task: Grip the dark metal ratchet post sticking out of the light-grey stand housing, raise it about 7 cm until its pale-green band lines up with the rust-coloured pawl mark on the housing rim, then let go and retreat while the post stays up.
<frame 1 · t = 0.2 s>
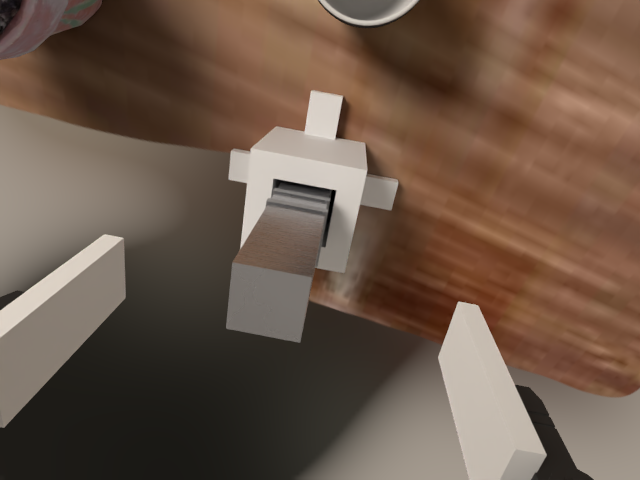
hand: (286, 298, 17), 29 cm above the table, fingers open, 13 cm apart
housing: (313, 178, 44), on the table
post: (297, 220, 33), point 12 cm above the table, slide at 0.0 cm
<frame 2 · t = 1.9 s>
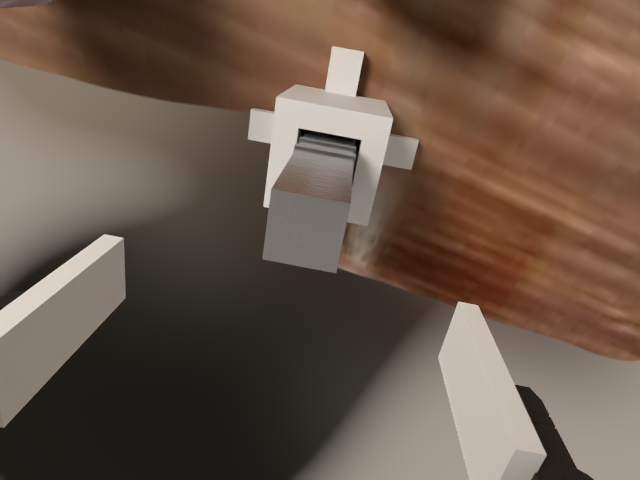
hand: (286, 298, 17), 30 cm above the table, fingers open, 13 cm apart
housing: (332, 137, 44), on the table
post: (323, 170, 33), point 12 cm above the table, slide at 0.0 cm
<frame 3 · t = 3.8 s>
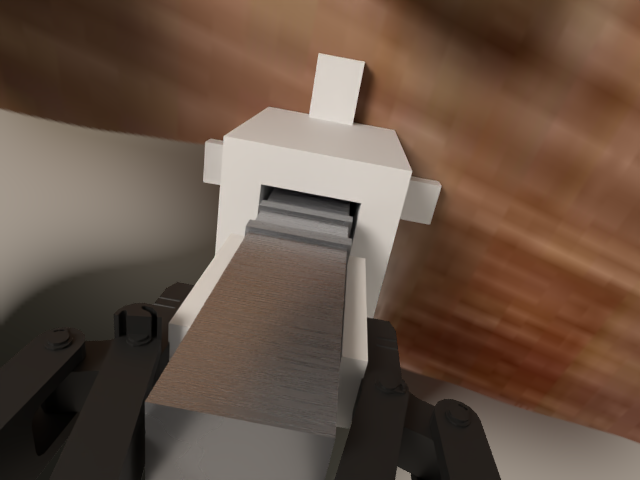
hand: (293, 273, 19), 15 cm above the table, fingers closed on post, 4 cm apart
housing: (321, 179, 32), on the table
post: (299, 252, 21), point 12 cm above the table, slide at 0.0 cm, touching gripper
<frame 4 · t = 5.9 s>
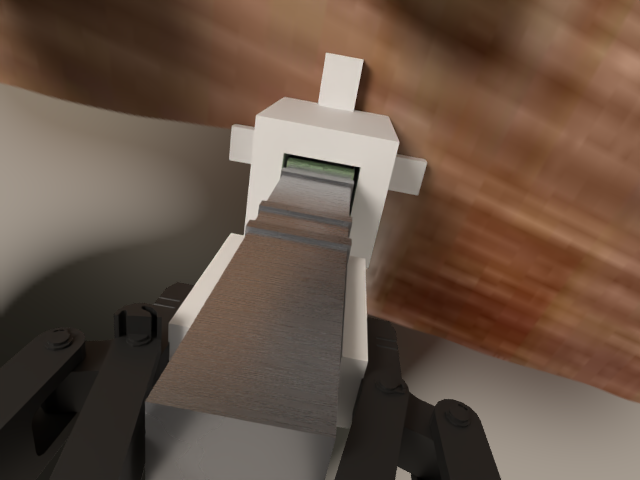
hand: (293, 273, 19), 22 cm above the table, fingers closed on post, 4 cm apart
housing: (327, 158, 38), on the table
post: (299, 252, 21), point 19 cm above the table, slide at 6.9 cm, touching gripper
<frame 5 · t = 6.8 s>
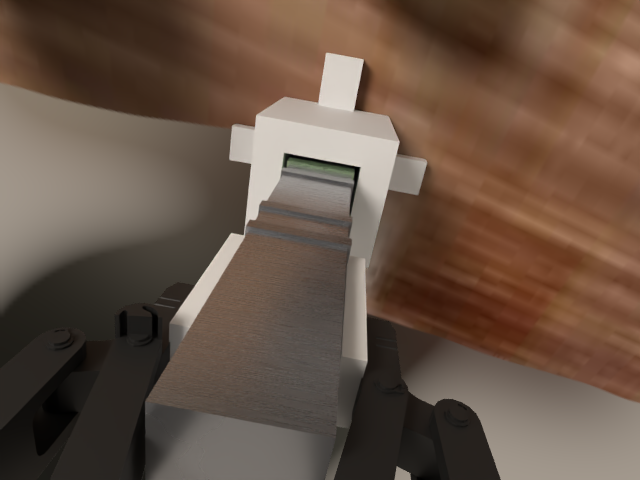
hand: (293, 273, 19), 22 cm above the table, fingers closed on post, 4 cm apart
housing: (327, 157, 38), on the table
post: (299, 252, 21), point 19 cm above the table, slide at 7.0 cm, touching gripper
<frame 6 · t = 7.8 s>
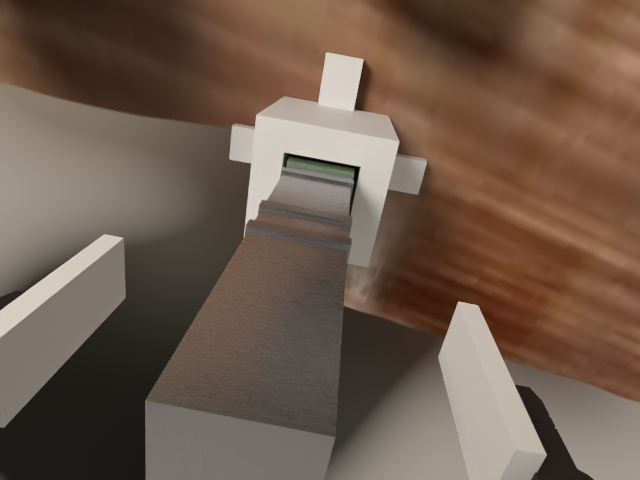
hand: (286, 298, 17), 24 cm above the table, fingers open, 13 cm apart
housing: (327, 157, 38), on the table
post: (299, 251, 21), point 19 cm above the table, slide at 7.0 cm
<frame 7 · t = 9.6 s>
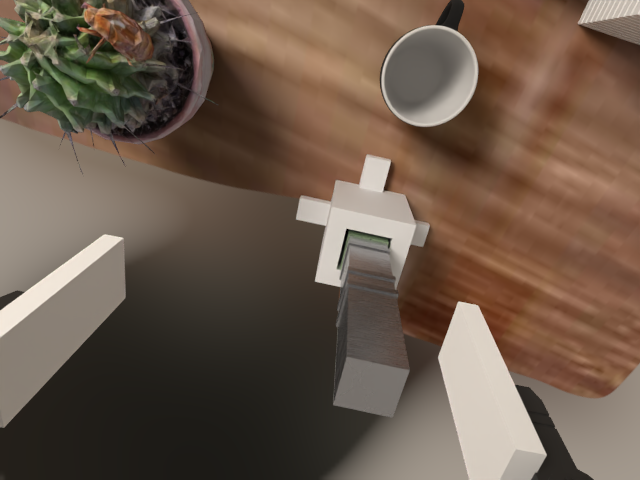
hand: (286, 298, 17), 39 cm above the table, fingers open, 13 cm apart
housing: (362, 219, 56), on the table
mug: (421, 61, 49), on the table
post: (365, 293, 38), point 19 cm above the table, slide at 7.0 cm
potted plant: (168, 62, 51), on the table
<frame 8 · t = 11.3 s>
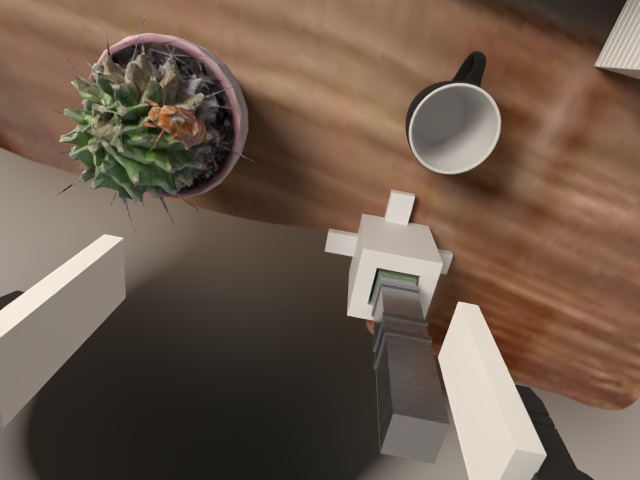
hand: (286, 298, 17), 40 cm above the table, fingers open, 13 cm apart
housing: (387, 249, 59), on the table
mug: (442, 103, 51), on the table
post: (399, 335, 41), point 19 cm above the table, slide at 7.0 cm
potted plant: (201, 110, 54), on the table
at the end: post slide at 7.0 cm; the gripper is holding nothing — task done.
